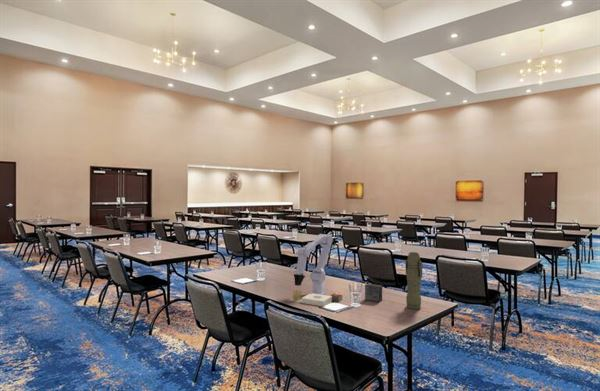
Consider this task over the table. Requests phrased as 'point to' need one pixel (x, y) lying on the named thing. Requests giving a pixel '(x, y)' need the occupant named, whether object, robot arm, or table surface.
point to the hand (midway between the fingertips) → (297, 285)
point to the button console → (336, 298)
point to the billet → (297, 295)
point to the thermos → (413, 280)
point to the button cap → (336, 294)
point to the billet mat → (295, 300)
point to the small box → (373, 292)
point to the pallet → (317, 299)
